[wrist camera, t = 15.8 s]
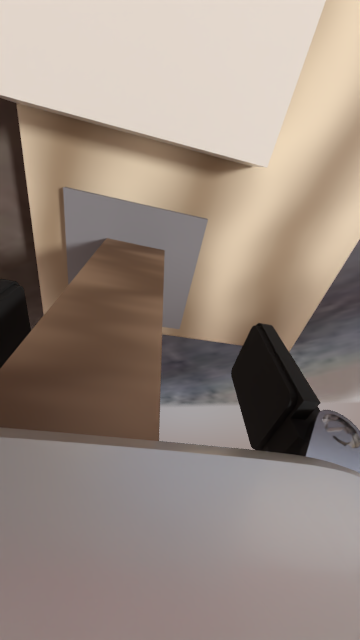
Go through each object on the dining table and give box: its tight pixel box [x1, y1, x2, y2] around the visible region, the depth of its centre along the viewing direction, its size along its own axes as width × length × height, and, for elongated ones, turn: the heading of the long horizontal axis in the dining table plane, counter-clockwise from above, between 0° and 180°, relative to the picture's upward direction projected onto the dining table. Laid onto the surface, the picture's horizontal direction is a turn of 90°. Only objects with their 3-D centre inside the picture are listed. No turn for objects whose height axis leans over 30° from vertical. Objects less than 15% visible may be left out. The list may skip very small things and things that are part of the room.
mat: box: [63, 187, 208, 329], centre depth 15 cm, size 8×8×1 cm
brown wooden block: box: [0, 238, 165, 441], centre depth 10 cm, size 4×4×12 cm
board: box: [16, 0, 360, 352], centre depth 14 cm, size 20×20×1 cm
